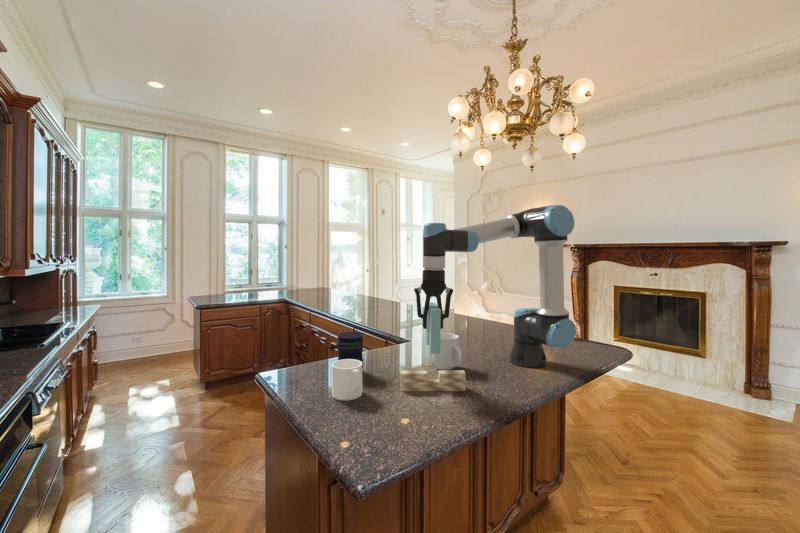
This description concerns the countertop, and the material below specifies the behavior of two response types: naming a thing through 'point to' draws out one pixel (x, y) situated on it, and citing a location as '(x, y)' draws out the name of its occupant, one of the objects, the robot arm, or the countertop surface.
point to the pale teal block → (434, 328)
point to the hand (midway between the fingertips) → (432, 338)
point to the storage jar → (350, 346)
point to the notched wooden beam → (433, 381)
